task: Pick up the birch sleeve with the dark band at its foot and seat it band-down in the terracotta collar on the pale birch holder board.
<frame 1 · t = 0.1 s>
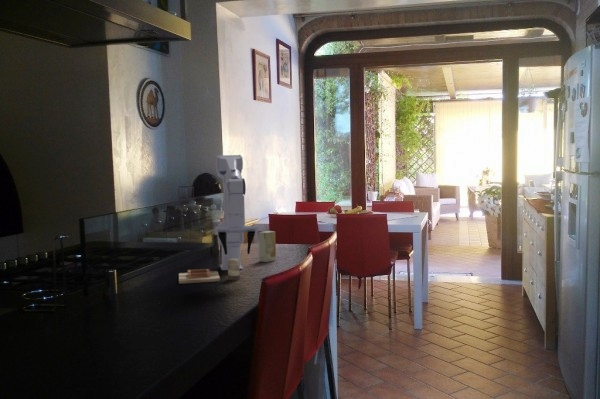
hand: (237, 253, 200), 10 cm above the counter, tool pointing down, fingers open, 7 cm apart
holder: (199, 278, 209), on the counter
sleeve: (233, 279, 206), on the counter
skincare box: (267, 261, 242), on the counter
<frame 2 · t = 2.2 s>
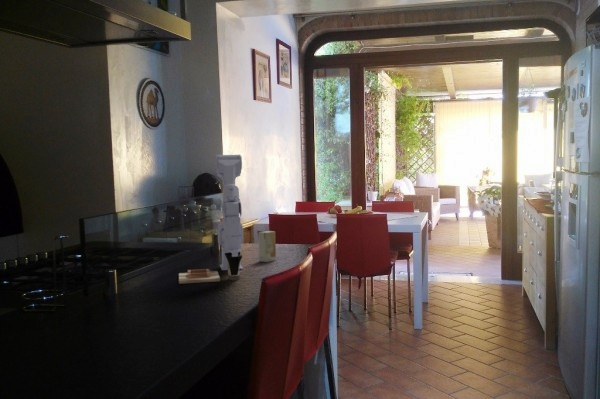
hand: (233, 273, 206), 2 cm above the counter, tool pointing down, fingers closed on sleeve, 4 cm apart
sleeve: (233, 279, 206), on the counter, touching gripper
everything else where it was.
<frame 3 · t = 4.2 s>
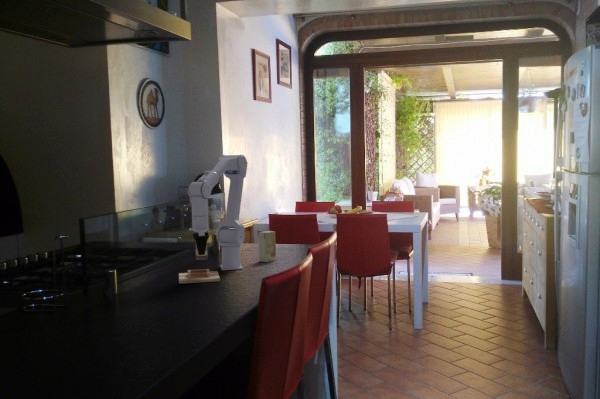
hand: (201, 253, 208), 9 cm above the counter, tool pointing down, fingers closed on sleeve, 4 cm apart
sleeve: (201, 259, 208), point 7 cm above the counter, touching gripper
everything else where it was.
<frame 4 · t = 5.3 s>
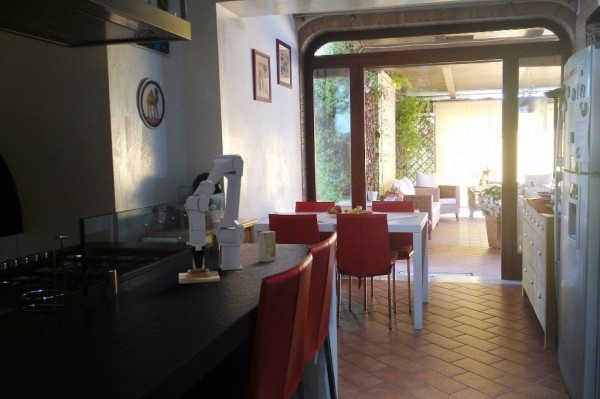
hand: (198, 267, 208), 4 cm above the counter, tool pointing down, fingers closed on sleeve, 4 cm apart
sleeve: (198, 272, 208), point 2 cm above the counter, touching gripper
everything else where it was.
when the fingers open (4 cm above the counter, at t = 6.1 s): sleeve stays where it is, resting on holder.
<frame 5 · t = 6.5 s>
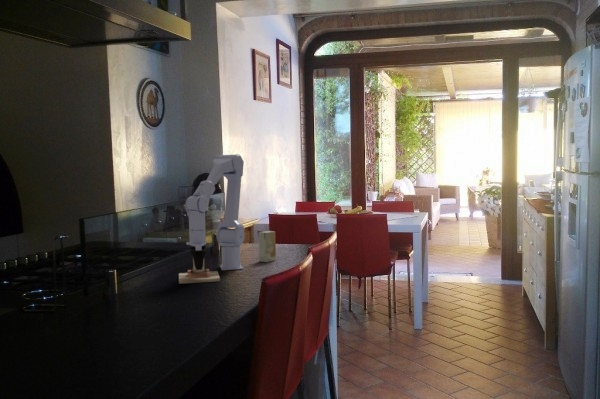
hand: (198, 267, 208), 4 cm above the counter, tool pointing down, fingers open, 7 cm apart
sleeve: (199, 275, 208), point 1 cm above the counter, touching holder
everything else where it was.
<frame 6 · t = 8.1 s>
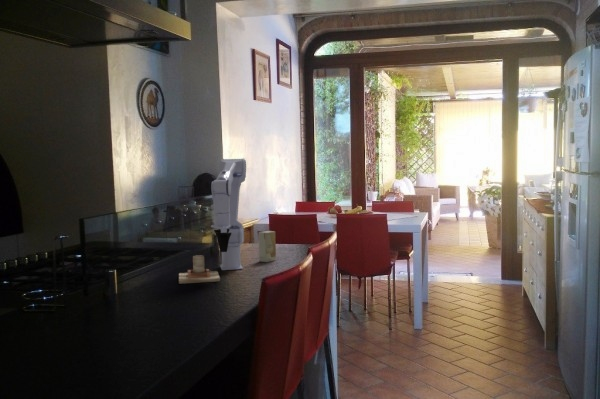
hand: (223, 250, 212), 9 cm above the counter, tool pointing down, fingers open, 7 cm apart
nothing on the counter moved.
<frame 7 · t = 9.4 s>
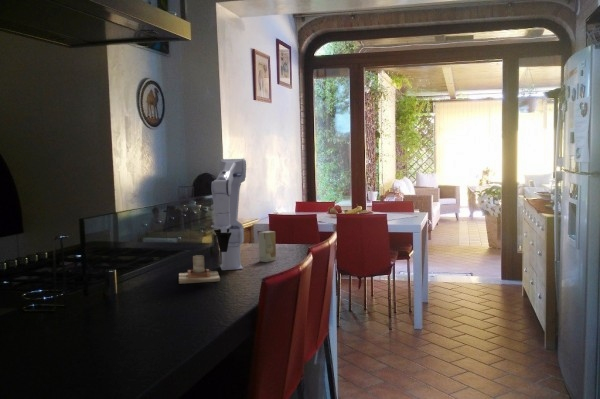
hand: (223, 250, 212), 9 cm above the counter, tool pointing down, fingers open, 7 cm apart
nothing on the counter moved.
at the end: sleeve 0.1 cm off-centre on the holder, point 1.0 cm above the holder's base; sleeve tilted 0°; the gripper is holding nothing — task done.
